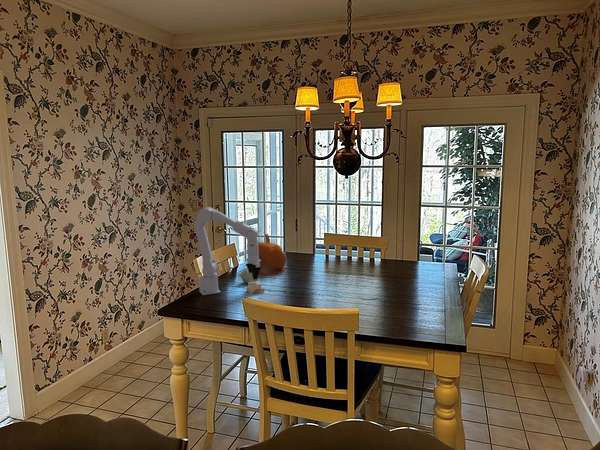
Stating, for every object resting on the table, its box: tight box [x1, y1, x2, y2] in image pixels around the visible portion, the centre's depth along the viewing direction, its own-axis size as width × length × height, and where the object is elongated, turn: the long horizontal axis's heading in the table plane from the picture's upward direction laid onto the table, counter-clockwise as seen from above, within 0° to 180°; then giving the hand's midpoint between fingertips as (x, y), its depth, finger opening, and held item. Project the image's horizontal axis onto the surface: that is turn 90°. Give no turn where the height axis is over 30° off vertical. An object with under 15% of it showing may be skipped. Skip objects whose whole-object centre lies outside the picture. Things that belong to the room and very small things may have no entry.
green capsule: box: [249, 272, 259, 282], centre depth 229 cm, size 4×4×4 cm
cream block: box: [247, 280, 262, 290], centre depth 230 cm, size 6×6×2 cm
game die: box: [238, 268, 250, 284], centre depth 245 cm, size 9×8×10 cm
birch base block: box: [246, 286, 265, 295], centre depth 230 cm, size 7×7×2 cm
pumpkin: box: [258, 233, 287, 276], centre depth 270 cm, size 22×25×22 cm
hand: (253, 278), depth 229 cm, fingers closed on green capsule, 4 cm apart
